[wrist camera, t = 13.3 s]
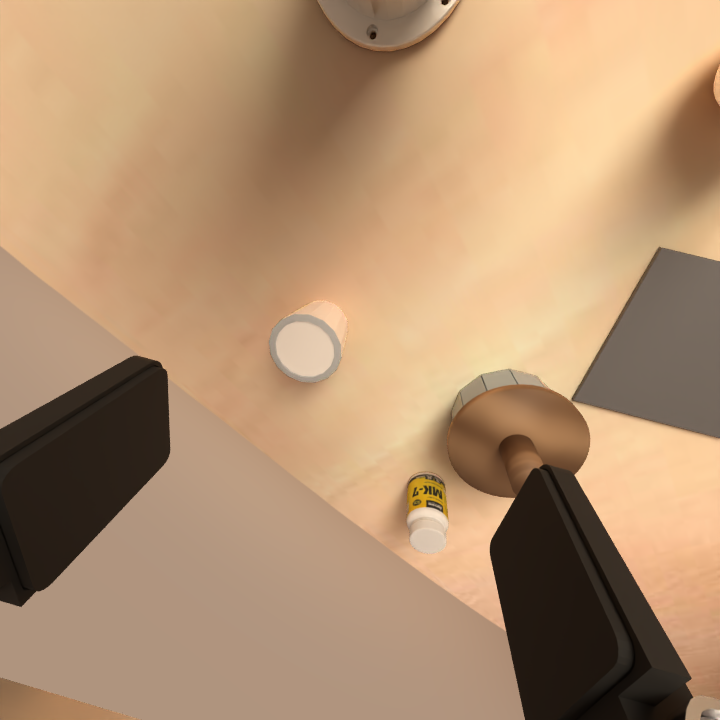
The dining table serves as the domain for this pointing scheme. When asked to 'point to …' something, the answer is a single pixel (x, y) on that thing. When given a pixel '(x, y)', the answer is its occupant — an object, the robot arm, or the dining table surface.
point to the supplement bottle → (427, 512)
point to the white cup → (310, 341)
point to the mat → (664, 348)
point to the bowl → (493, 385)
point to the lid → (515, 437)
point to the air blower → (717, 86)
